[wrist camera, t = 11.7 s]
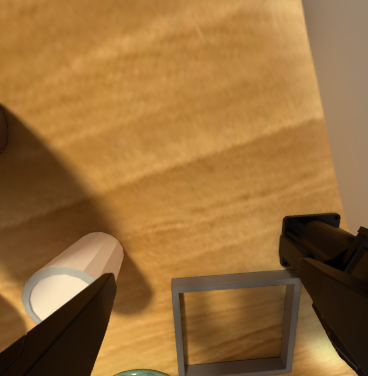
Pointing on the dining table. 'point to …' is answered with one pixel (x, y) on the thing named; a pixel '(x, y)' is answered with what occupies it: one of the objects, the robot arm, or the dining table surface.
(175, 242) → the dining table surface
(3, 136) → the plant pot
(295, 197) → the dining table surface
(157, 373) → the bowl
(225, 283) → the gray square frame
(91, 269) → the white cup
